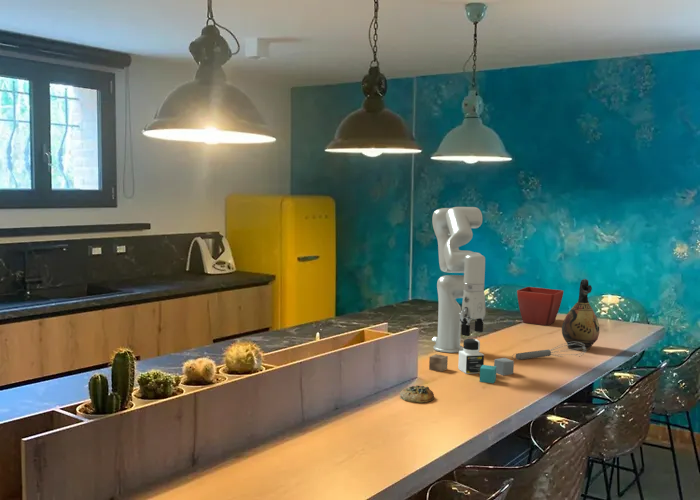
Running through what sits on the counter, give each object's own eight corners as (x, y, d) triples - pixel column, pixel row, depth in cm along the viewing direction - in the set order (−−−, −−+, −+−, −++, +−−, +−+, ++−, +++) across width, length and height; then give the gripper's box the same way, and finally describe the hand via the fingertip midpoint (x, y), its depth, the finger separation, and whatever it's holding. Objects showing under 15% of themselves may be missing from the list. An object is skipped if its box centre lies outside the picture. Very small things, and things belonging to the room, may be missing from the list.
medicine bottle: (466, 374, 251) (467, 342, 250) (457, 369, 258) (459, 337, 257) (483, 373, 253) (484, 341, 252) (475, 368, 260) (476, 337, 259)
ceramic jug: (601, 353, 288) (604, 283, 285) (562, 351, 291) (566, 281, 288) (595, 344, 305) (598, 277, 302) (559, 342, 308) (562, 276, 305)
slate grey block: (493, 372, 255) (494, 359, 255) (503, 370, 257) (504, 357, 257) (503, 375, 251) (503, 362, 250) (513, 374, 253) (513, 360, 253)
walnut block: (429, 369, 257) (429, 356, 256) (435, 367, 261) (435, 354, 261) (441, 372, 254) (441, 358, 254) (447, 369, 258) (447, 356, 258)
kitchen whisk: (508, 358, 277) (509, 343, 277) (580, 354, 287) (581, 340, 286) (515, 362, 272) (516, 346, 271) (589, 358, 281) (590, 343, 281)
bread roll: (431, 392, 227) (431, 378, 226) (436, 408, 217) (436, 393, 215) (398, 393, 227) (398, 379, 226) (401, 409, 216) (401, 394, 215)
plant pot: (562, 322, 356) (564, 289, 355) (552, 327, 340) (553, 294, 338) (526, 317, 366) (528, 286, 365) (514, 323, 350) (516, 290, 349)
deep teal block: (479, 381, 242) (480, 368, 242) (481, 378, 247) (482, 364, 246) (493, 383, 240) (494, 369, 240) (495, 379, 245) (496, 366, 244)
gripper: (470, 291, 244) (469, 338, 245) (494, 286, 257) (492, 331, 259) (452, 289, 249) (451, 335, 250) (476, 284, 262) (474, 328, 263)
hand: (472, 333), depth 254 cm, fingers open, 9 cm apart
